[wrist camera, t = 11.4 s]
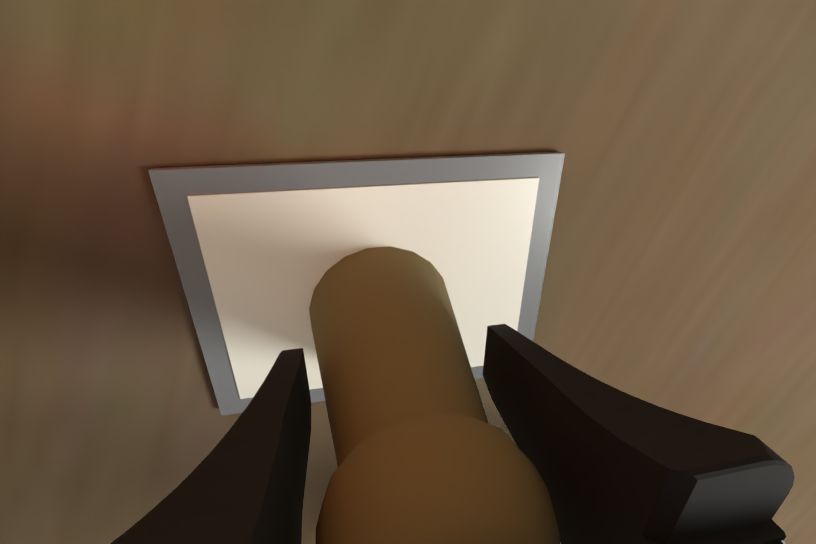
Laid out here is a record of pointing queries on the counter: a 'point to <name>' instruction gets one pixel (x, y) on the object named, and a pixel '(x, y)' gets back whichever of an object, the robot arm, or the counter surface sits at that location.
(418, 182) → the notepad
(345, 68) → the counter surface
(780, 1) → the counter surface
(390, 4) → the counter surface
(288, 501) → the robot arm
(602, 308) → the counter surface
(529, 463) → the cork
